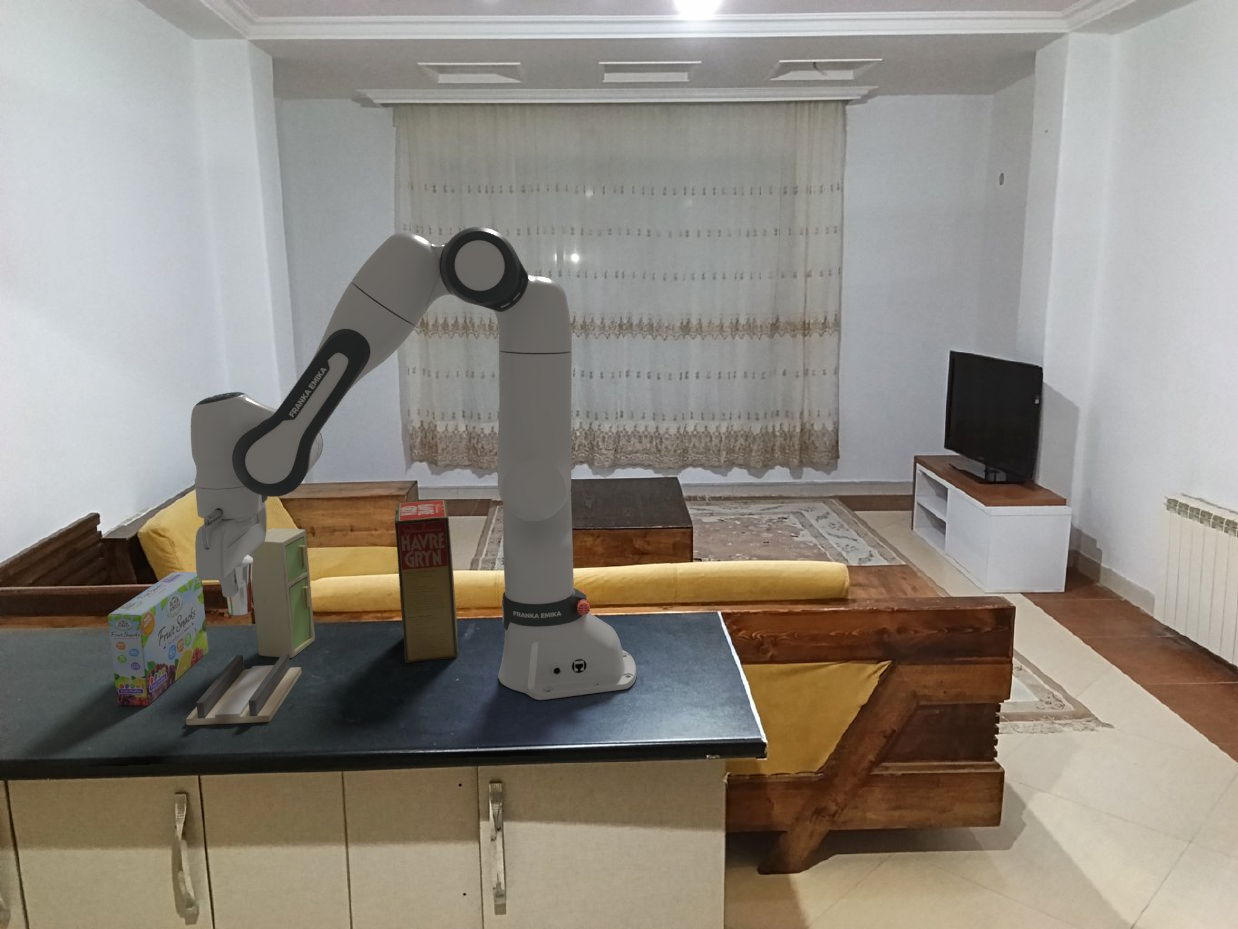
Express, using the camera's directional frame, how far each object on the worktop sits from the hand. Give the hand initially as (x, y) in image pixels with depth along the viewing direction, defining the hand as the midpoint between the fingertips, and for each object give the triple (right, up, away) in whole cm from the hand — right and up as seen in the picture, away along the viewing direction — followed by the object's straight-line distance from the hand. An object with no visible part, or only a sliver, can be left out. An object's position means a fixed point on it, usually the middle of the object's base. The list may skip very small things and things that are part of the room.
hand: (236, 589), depth 140 cm
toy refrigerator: (0, -14, +22) cm, 26 cm away
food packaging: (+25, -13, +23) cm, 36 cm away
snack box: (-16, -16, +12) cm, 26 cm away
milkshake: (0, -4, +1) cm, 4 cm away
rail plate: (0, -17, +4) cm, 18 cm away
